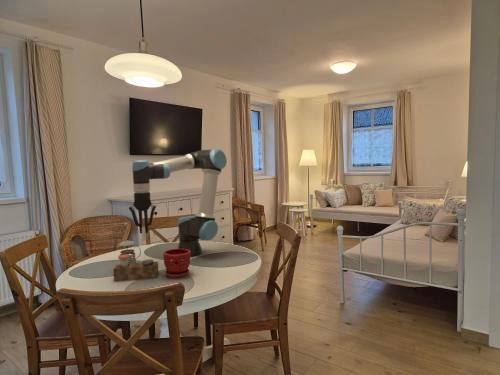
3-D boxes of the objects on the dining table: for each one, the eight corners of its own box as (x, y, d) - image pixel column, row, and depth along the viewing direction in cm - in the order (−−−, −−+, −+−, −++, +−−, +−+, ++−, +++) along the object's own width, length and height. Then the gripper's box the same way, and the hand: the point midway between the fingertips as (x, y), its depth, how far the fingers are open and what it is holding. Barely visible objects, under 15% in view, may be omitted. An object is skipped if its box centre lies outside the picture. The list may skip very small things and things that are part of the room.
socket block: (158, 272, 163) (158, 261, 163) (157, 277, 157) (156, 265, 156) (117, 276, 160) (116, 264, 160) (114, 281, 153) (113, 269, 153)
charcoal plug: (154, 272, 162) (153, 259, 162) (153, 276, 157) (152, 262, 156) (143, 273, 161) (143, 259, 161) (142, 277, 156) (141, 263, 156)
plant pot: (185, 279, 153) (184, 255, 152) (160, 278, 155) (158, 254, 154) (195, 270, 165) (194, 247, 164) (171, 269, 168) (170, 247, 167)
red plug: (131, 267, 160) (130, 253, 160) (129, 271, 155) (128, 256, 154) (120, 268, 159) (119, 254, 159) (118, 272, 154) (117, 257, 154)
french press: (118, 267, 174) (115, 222, 172) (140, 264, 178) (138, 220, 176) (118, 273, 165) (115, 225, 163) (142, 269, 169) (139, 223, 167)
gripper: (126, 193, 151) (129, 242, 153) (154, 192, 153) (157, 240, 155) (129, 192, 158) (132, 238, 160) (156, 191, 161) (158, 237, 162)
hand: (144, 239), depth 158 cm, fingers closed
